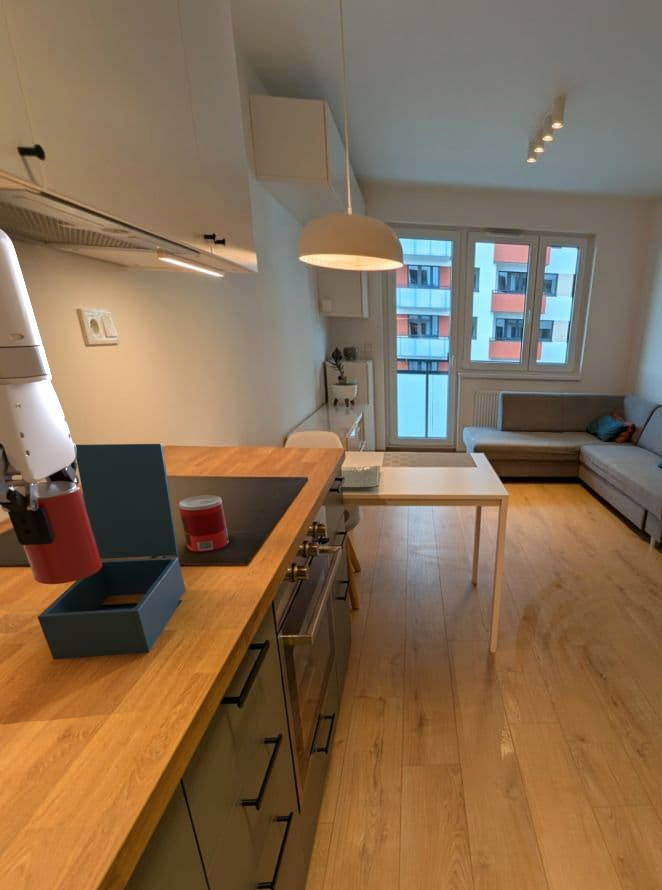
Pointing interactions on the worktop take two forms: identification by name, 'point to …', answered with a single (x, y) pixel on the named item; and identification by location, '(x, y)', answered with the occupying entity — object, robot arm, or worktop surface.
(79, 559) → the can
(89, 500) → the lid
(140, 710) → the worktop surface
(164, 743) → the worktop surface
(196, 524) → the canned food
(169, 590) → the open box
